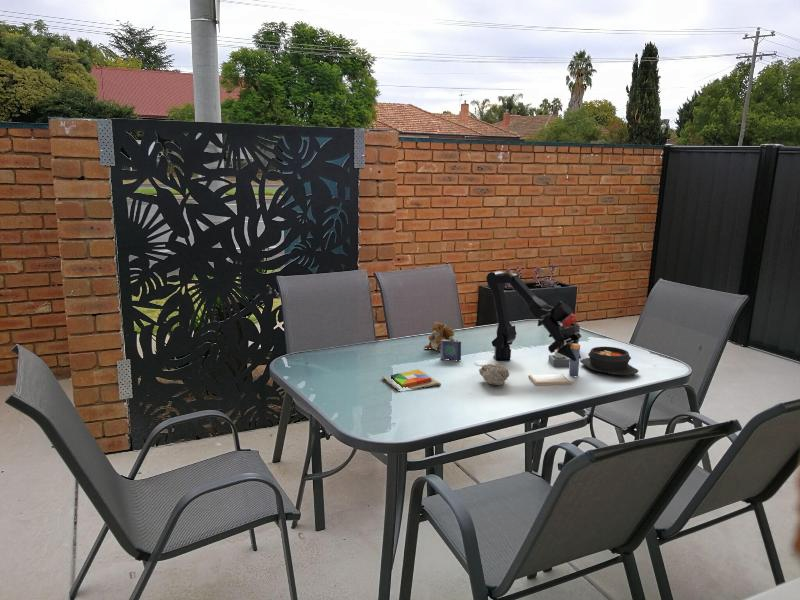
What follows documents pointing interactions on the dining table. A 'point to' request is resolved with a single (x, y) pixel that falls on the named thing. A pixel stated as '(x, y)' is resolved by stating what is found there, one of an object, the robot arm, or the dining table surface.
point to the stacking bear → (569, 322)
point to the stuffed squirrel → (439, 335)
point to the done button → (558, 355)
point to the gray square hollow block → (558, 361)
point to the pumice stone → (494, 374)
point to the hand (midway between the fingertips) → (577, 359)
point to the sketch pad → (550, 379)
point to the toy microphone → (574, 364)
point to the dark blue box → (451, 349)
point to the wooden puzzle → (412, 379)
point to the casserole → (609, 361)
